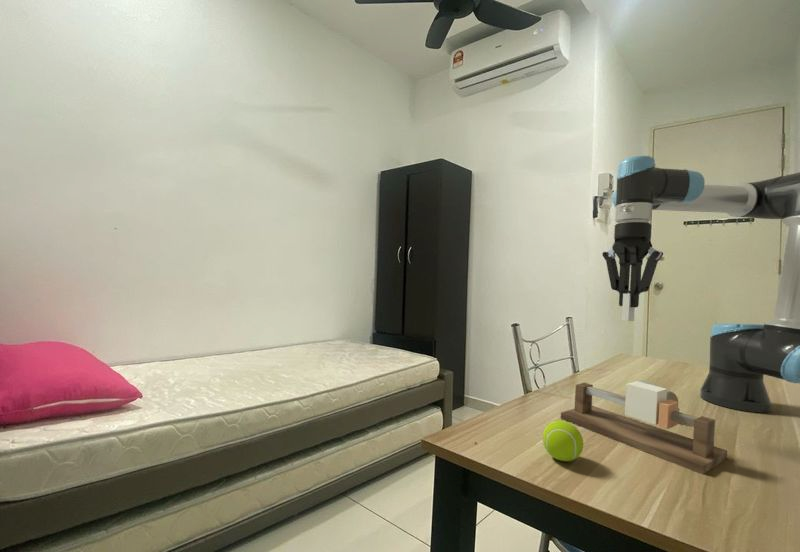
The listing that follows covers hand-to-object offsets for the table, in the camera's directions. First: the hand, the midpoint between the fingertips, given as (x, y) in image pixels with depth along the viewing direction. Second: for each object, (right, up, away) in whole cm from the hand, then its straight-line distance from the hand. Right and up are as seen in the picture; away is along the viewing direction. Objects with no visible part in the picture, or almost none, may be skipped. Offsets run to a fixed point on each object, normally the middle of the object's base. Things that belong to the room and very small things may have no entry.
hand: (627, 320), depth 90 cm
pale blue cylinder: (+12, -25, +7) cm, 29 cm away
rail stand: (-4, -24, -9) cm, 26 cm away
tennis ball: (-25, -24, -20) cm, 40 cm away
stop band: (0, -20, -14) cm, 24 cm away
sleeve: (-2, -20, -10) cm, 22 cm away
